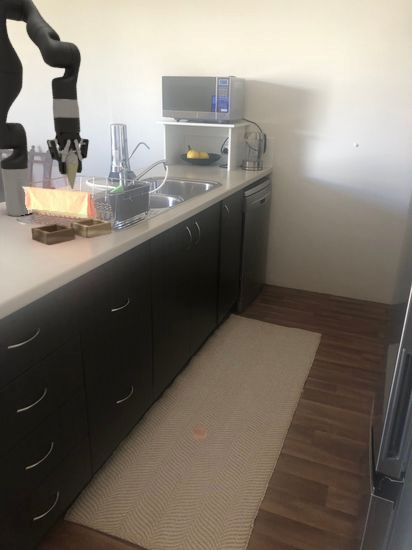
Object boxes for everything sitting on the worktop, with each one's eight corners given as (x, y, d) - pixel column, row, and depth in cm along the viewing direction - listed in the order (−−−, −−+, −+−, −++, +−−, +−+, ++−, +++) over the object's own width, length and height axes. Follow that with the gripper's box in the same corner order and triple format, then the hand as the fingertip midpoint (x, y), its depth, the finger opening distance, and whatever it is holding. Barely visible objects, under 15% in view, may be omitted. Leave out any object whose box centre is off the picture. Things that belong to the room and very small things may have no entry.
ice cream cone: (72, 187, 140) (68, 138, 135) (84, 188, 138) (80, 139, 133) (60, 189, 136) (56, 139, 131) (72, 190, 134) (68, 140, 128)
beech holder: (71, 232, 145) (70, 222, 144) (94, 227, 152) (93, 218, 150) (88, 237, 139) (87, 227, 138) (111, 232, 146) (110, 222, 145)
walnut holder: (32, 239, 136) (31, 228, 135) (58, 233, 143) (57, 223, 142) (49, 244, 131) (48, 233, 130) (75, 238, 138) (74, 228, 137)
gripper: (78, 115, 137) (82, 170, 143) (37, 115, 126) (43, 174, 132) (93, 116, 132) (96, 172, 138) (53, 116, 122) (58, 176, 128)
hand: (71, 173), depth 135 cm, fingers closed on ice cream cone, 5 cm apart
